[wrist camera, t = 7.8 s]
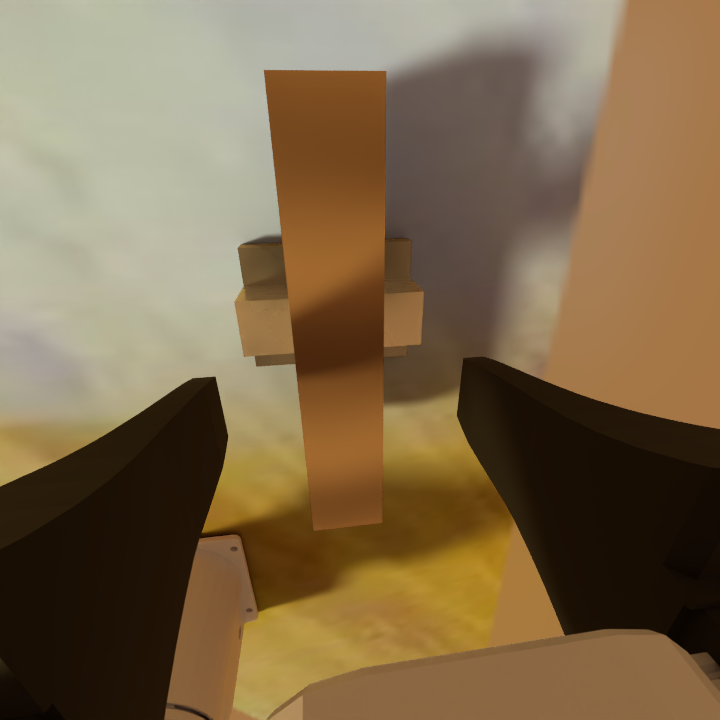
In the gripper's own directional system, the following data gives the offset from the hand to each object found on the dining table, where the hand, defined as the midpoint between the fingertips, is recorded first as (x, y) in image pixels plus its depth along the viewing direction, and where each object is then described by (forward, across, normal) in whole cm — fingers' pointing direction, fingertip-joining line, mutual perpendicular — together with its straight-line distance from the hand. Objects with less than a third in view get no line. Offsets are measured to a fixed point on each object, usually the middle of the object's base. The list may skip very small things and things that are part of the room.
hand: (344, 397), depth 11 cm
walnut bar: (+6, 0, 0) cm, 6 cm away
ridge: (+10, 0, 0) cm, 10 cm away
